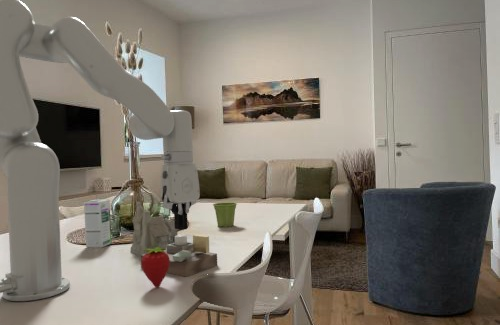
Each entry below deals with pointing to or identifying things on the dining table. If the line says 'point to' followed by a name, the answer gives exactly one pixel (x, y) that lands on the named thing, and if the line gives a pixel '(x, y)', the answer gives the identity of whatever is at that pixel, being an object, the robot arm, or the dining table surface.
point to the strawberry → (155, 265)
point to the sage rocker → (182, 255)
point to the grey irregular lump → (151, 232)
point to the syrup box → (97, 223)
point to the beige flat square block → (201, 243)
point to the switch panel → (189, 260)
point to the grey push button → (180, 240)
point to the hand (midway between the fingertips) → (181, 228)
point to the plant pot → (225, 213)
